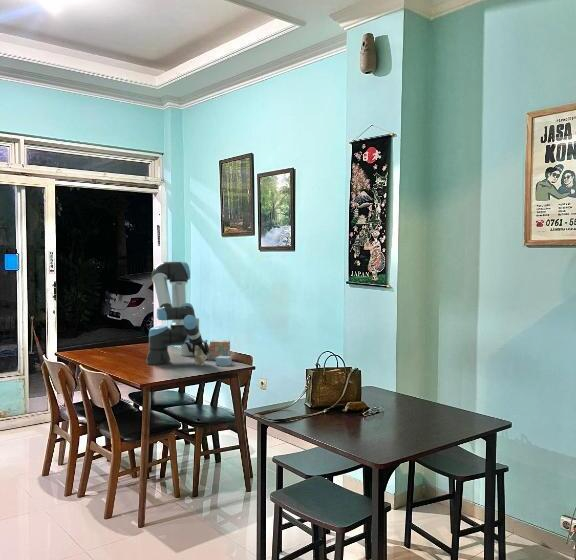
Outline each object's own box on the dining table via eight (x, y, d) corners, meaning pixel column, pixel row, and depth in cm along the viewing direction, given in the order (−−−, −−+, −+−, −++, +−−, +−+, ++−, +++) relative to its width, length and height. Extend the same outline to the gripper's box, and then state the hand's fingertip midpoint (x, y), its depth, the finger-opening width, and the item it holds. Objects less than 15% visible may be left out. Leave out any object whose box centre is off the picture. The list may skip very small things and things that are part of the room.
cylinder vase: (199, 355, 396) (199, 319, 395) (181, 356, 393) (181, 320, 392) (198, 353, 408) (198, 317, 407) (180, 353, 405) (180, 318, 404)
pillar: (194, 365, 361) (194, 346, 360) (197, 363, 366) (197, 344, 365) (202, 365, 360) (202, 346, 360) (204, 364, 365) (204, 345, 365)
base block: (215, 365, 361) (215, 357, 361) (219, 363, 369) (219, 355, 369) (227, 366, 360) (227, 358, 360) (231, 364, 368) (231, 356, 368)
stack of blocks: (196, 359, 383) (196, 341, 383) (199, 357, 389) (199, 339, 389) (227, 360, 380) (227, 341, 380) (230, 358, 386) (230, 340, 386)
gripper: (178, 339, 348) (186, 362, 365) (207, 340, 346) (214, 362, 363) (181, 330, 353) (188, 352, 370) (209, 330, 351) (216, 353, 368)
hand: (201, 357), depth 366 cm, fingers closed on pillar, 5 cm apart
